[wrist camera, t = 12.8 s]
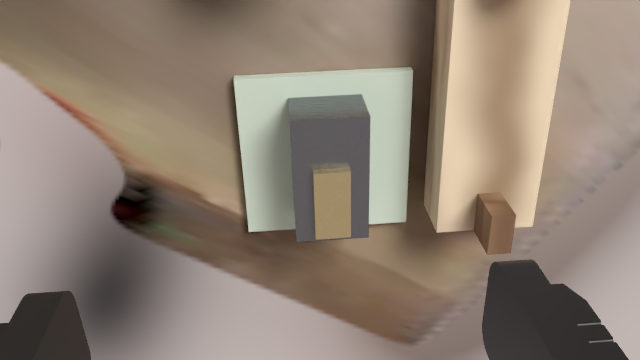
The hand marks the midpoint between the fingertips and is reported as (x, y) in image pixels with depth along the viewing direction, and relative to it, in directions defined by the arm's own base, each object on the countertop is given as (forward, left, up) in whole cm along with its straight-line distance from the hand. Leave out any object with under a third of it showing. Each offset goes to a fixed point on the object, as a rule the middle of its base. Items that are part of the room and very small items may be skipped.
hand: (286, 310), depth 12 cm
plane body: (+14, -6, -30) cm, 34 cm away
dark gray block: (+3, -11, -29) cm, 31 cm away
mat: (+3, -11, -30) cm, 32 cm away
